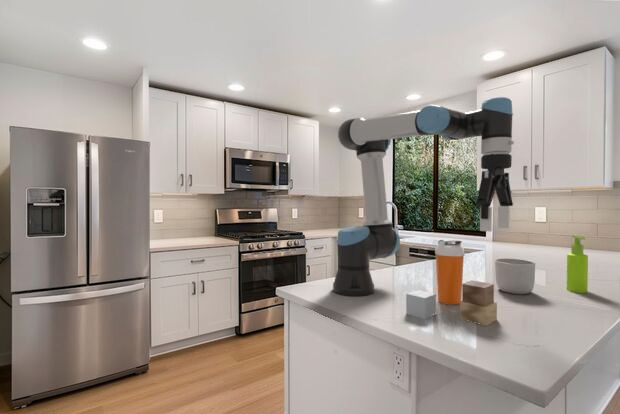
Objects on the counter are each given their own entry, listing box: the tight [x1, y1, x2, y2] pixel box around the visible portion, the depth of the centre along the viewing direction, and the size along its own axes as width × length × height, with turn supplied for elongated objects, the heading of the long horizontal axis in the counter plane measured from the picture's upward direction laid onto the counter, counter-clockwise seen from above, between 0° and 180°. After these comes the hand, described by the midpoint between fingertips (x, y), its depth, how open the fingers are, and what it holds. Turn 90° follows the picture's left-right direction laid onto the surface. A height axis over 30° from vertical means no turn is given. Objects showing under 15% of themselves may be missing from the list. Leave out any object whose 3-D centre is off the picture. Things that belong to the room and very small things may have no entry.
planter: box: [494, 257, 536, 295], centre depth 120 cm, size 12×12×11 cm
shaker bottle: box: [434, 239, 465, 305], centre depth 109 cm, size 9×9×20 cm
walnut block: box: [461, 279, 495, 307], centre depth 93 cm, size 6×6×5 cm
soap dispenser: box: [566, 235, 589, 294], centre depth 120 cm, size 6×7×20 cm
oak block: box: [459, 300, 498, 327], centre depth 93 cm, size 7×7×5 cm
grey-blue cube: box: [405, 289, 437, 320], centre depth 97 cm, size 6×6×6 cm
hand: (495, 229), depth 95 cm, fingers open, 13 cm apart
